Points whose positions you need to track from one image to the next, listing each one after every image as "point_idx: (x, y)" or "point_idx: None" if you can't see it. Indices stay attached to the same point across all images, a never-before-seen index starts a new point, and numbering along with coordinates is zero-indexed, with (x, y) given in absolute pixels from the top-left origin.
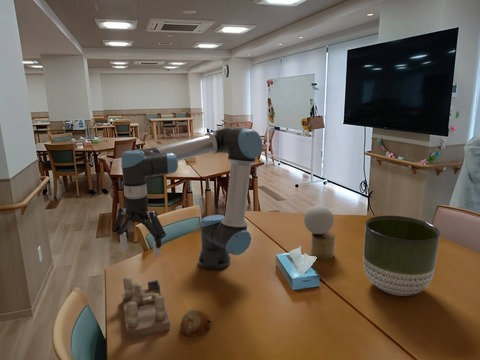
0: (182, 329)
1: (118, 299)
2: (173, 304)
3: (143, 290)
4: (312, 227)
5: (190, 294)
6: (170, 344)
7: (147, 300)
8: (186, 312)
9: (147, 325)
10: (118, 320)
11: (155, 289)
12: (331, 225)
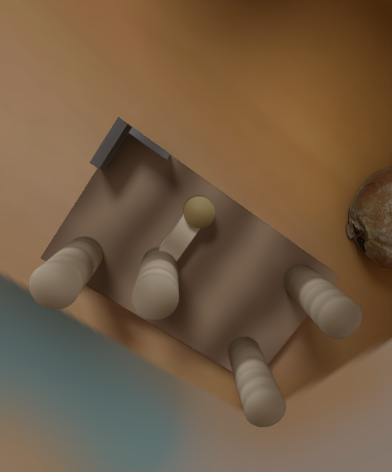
0: (387, 267)
1: (26, 250)
2: (241, 154)
3: (92, 185)
4: None
5: (255, 54)
6: (367, 310)
7: (187, 245)
8: (385, 222)
9: (285, 328)
10: (143, 326)
11: (132, 148)
12: None
